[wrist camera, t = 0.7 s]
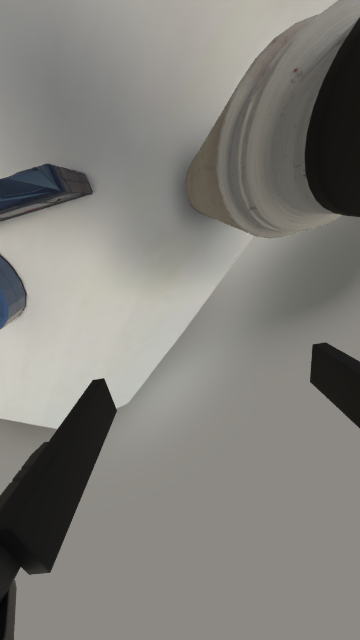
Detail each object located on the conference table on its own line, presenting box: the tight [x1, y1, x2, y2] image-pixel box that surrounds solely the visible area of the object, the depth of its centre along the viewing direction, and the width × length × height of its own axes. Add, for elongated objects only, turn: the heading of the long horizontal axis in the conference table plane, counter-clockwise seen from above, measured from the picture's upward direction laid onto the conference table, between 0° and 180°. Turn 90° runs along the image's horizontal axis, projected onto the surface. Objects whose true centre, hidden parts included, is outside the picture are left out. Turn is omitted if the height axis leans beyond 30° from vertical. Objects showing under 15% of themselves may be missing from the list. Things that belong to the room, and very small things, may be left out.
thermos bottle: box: [185, 0, 360, 238], centre depth 16 cm, size 8×8×28 cm
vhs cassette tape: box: [0, 164, 92, 221], centre depth 23 cm, size 18×3×10 cm, turn 102°
